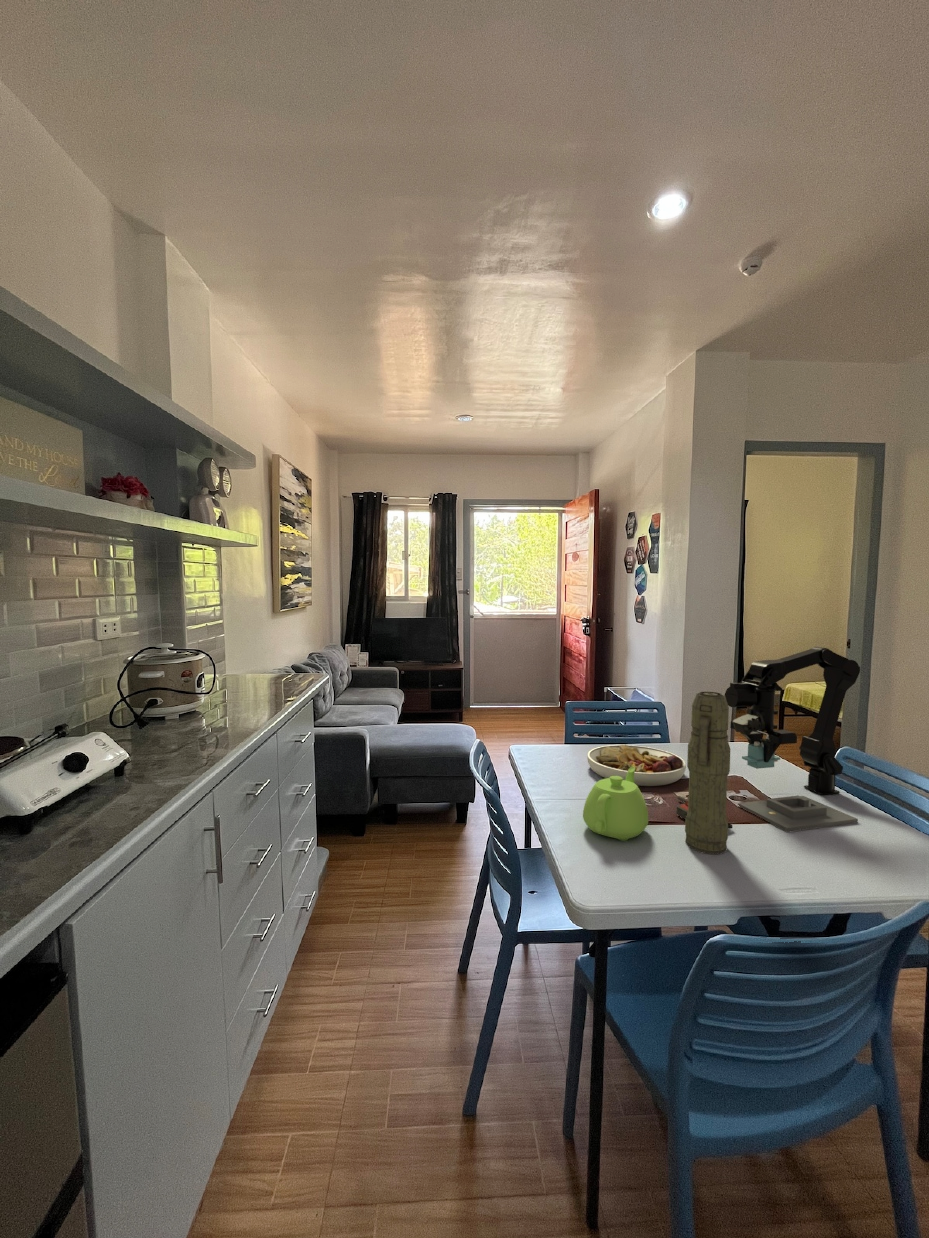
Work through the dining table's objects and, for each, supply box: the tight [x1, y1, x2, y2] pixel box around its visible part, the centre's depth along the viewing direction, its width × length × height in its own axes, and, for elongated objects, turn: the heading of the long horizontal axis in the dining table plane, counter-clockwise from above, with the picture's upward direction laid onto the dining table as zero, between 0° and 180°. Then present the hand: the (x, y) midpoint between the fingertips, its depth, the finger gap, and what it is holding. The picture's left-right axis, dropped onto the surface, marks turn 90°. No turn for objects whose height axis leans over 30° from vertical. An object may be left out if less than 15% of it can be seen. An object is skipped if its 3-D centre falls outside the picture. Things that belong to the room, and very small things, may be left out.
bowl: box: [586, 744, 687, 787], centre depth 176 cm, size 30×30×8 cm
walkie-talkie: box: [676, 795, 734, 830], centre depth 141 cm, size 9×4×20 cm
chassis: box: [737, 795, 859, 833], centre depth 143 cm, size 22×16×3 cm
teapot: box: [582, 767, 650, 842], centre depth 133 cm, size 22×15×13 cm
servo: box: [741, 742, 781, 770], centre depth 157 cm, size 10×4×7 cm, turn 105°
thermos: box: [684, 691, 731, 855], centre depth 124 cm, size 9×12×35 cm
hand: (760, 760), depth 157 cm, fingers closed on servo, 3 cm apart
